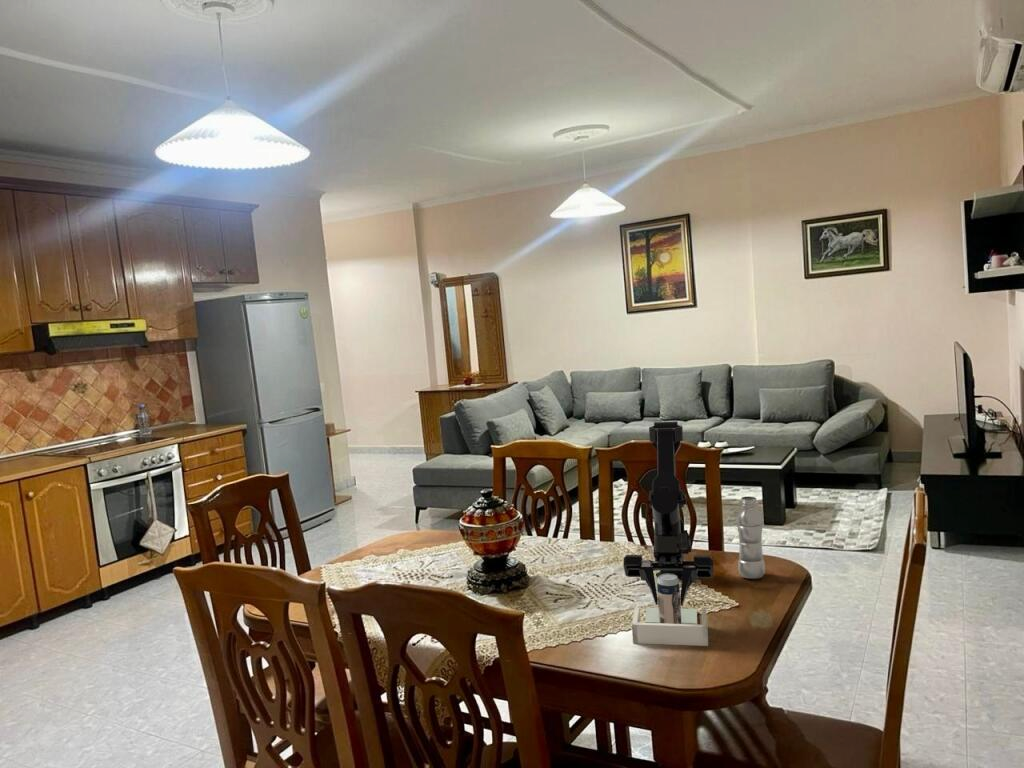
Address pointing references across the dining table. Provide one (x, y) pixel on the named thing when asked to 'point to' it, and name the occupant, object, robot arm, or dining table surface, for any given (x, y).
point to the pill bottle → (669, 599)
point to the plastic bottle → (750, 539)
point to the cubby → (669, 632)
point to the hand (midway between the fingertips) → (669, 604)
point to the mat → (686, 616)
